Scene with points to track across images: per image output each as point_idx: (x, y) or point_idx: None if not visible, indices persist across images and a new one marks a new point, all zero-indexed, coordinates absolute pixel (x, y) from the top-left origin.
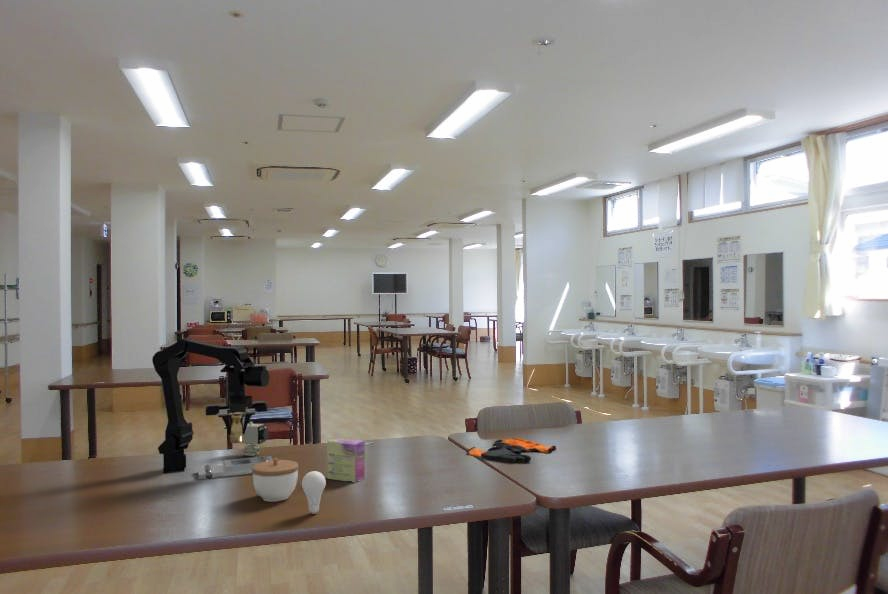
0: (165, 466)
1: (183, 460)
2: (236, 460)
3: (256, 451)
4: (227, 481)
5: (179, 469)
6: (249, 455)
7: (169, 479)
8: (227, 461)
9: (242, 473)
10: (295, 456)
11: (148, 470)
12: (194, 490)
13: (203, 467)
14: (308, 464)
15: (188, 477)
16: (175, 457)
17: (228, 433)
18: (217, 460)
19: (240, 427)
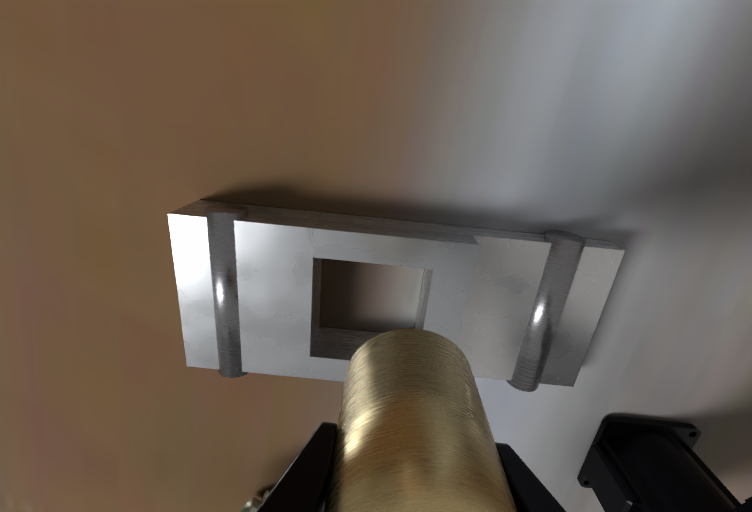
0: (697, 462)
1: (628, 474)
2: None
3: (251, 507)
4: (488, 117)
5: (626, 431)
6: None
7: (720, 321)
8: None
9: (377, 220)
10: (84, 410)
11: None
12: (732, 5)
13: (545, 379)
14: (5, 240)
15: (631, 310)
16: (694, 489)
17: (523, 463)
18: None
19: (375, 488)
